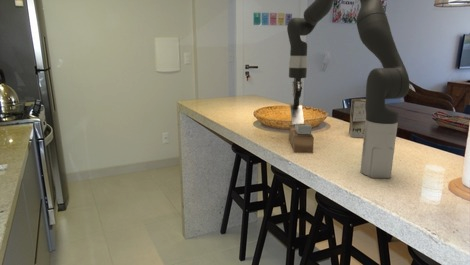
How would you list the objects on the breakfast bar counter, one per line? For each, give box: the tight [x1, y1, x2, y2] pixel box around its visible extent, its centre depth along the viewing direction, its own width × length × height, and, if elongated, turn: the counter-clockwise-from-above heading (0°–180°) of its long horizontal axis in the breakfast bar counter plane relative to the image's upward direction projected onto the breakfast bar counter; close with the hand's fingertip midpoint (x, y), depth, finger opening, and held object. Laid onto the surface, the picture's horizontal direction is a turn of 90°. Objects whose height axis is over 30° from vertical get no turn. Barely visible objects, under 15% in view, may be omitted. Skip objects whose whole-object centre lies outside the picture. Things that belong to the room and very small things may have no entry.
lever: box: [289, 103, 305, 125], centre depth 151 cm, size 1×5×12 cm
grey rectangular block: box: [295, 122, 313, 134], centre depth 134 cm, size 9×5×4 cm, turn 178°
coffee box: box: [348, 98, 366, 139], centre depth 154 cm, size 9×6×16 cm
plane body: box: [288, 124, 315, 154], centre depth 139 cm, size 18×7×7 cm, turn 178°
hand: (296, 106), depth 153 cm, fingers closed
